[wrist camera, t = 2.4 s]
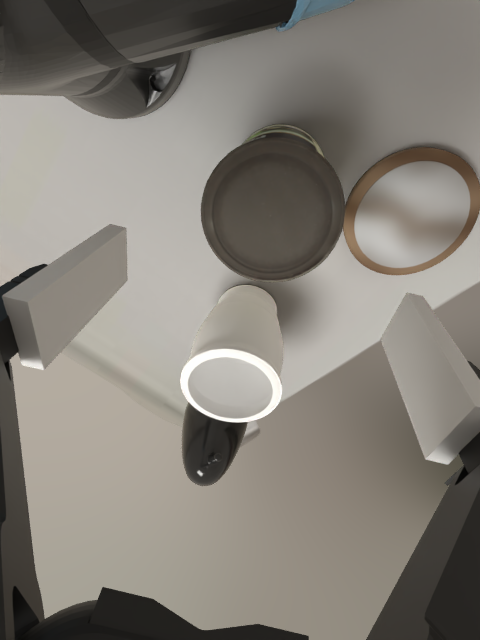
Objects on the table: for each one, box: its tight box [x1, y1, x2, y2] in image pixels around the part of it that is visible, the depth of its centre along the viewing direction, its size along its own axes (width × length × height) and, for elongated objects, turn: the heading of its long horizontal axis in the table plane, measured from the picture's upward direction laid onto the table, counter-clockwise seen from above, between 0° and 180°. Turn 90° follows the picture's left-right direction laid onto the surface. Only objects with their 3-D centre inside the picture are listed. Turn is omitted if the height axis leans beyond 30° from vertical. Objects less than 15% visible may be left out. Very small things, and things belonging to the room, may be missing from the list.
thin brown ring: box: [343, 147, 480, 275], centre depth 34 cm, size 13×13×2 cm
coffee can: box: [201, 125, 345, 283], centre depth 29 cm, size 10×10×14 cm
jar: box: [180, 285, 283, 422], centre depth 38 cm, size 11×10×15 cm
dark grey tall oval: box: [182, 402, 248, 486], centre depth 49 cm, size 10×10×15 cm
